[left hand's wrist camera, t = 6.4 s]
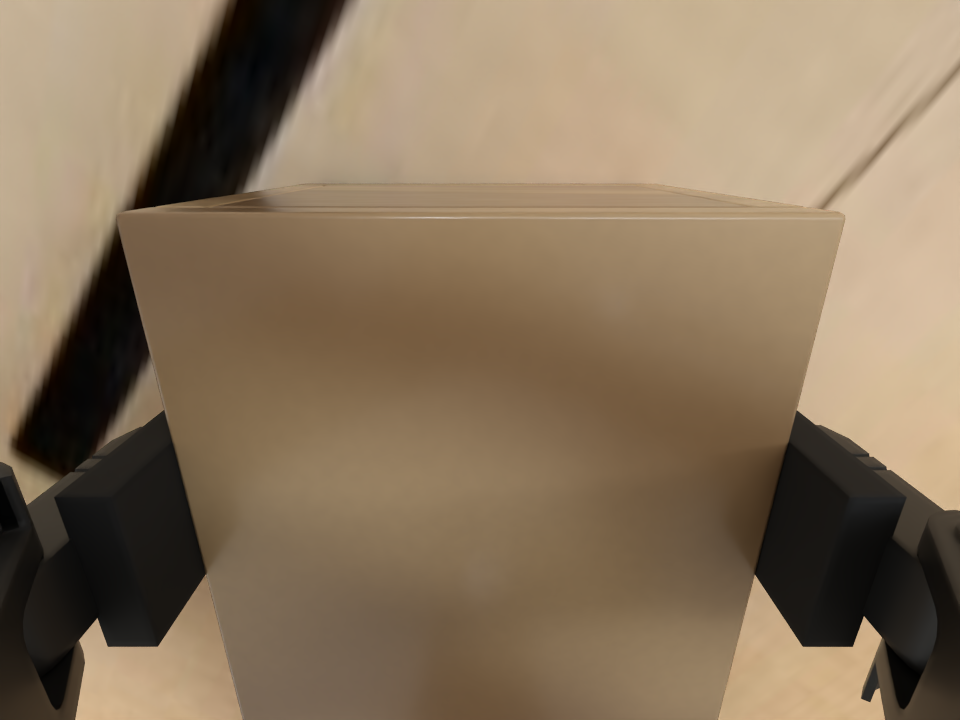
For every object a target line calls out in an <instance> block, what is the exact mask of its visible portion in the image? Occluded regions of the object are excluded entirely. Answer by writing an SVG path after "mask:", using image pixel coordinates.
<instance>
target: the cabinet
mask: <svg viewBox="0 0 960 720" xmlns="http://www.w3.org/2000/svg"><path fill="white" fill-rule="evenodd" d="M116 221H117V225H118V229H119V233H120V237H121V241H122V245H123V249H124V253H125V257H126V261H127V265H128V269H129V273H130V276H131V280H132V284H133V288H134V292H135V296H136V300H137V304H138V308H139V312H140V316H141V320H142V324H143V328H144V332H145V336H146V340H147V343H148V347H149V351H150V355H151V359H152V363H153V367H154V371H155V375H156V379H157V383H158V387H159V391H160V395H161V399H162V403H163V407H164V410H165V414H166V418H167V422H168V426H169V430H170V434H171V438H172V442H173V446H174V450H175V454H176V458H177V462H178V466H179V470H180V474H181V477H182V481H183V485H184V489H185V493H186V497H187V501H188V505H189V509H190V513H191V517H192V521H193V525H194V529H195V533H196V537H197V541H198V544H199V548H200V552H201V556H202V560H203V564H204V568H205V572H206V576H207V580H208V584H209V588H210V592H211V596H212V600H213V604H214V608H215V611H216V615H217V619H218V623H219V627H220V631H221V635H222V639H223V643H224V647H225V651H226V655H227V659H228V663H229V667H230V671H231V675H232V678H233V682H234V686H235V690H236V694H237V698H238V702H239V706H240V710H241V714H242V718H243V720H718V717H719V713H720V709H721V705H722V701H723V697H724V693H725V689H726V685H727V681H728V677H729V673H730V670H731V666H732V662H733V658H734V654H735V650H736V646H737V642H738V638H739V634H740V630H741V626H742V622H743V619H744V615H745V611H746V607H747V603H748V599H749V595H750V591H751V587H752V583H753V579H754V575H755V571H756V567H757V564H758V560H759V556H760V552H761V548H762V544H763V540H764V536H765V532H766V528H767V524H768V520H769V516H770V512H771V509H772V505H773V501H774V497H775V493H776V489H777V485H778V481H779V477H780V473H781V469H782V465H783V461H784V458H785V454H786V450H787V446H788V442H789V438H790V434H791V430H792V426H793V422H794V418H795V414H796V410H797V406H798V403H799V399H800V395H801V391H802V387H803V383H804V379H805V375H806V371H807V367H808V363H809V359H810V355H811V352H812V348H813V344H814V340H815V336H816V332H817V328H818V324H819V320H820V316H821V312H822V308H823V304H824V300H825V297H826V293H827V289H828V285H829V281H830V277H831V273H832V269H833V265H834V261H835V257H836V253H837V249H838V246H839V242H840V238H841V234H842V230H843V226H844V222H845V215H844V214H842V213H840V212H836V211H829V210H822V209H816V208H805V207H803V206H796V205H790V204H783V203H776V202H770V201H763V200H757V199H750V198H744V197H737V196H730V195H724V194H717V193H711V192H704V191H698V190H691V189H685V188H678V187H671V186H665V185H660V184H301V185H295V186H289V187H282V188H276V189H269V190H262V191H256V192H249V193H243V194H236V195H229V196H223V197H216V198H210V199H203V200H196V201H190V202H183V203H177V204H170V205H163V206H157V207H151V208H144V209H138V210H131V211H125V212H121V213H119V214H117V215H116Z"/></svg>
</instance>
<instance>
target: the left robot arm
mask: <svg viewBox="0 0 960 720" xmlns="http://www.w3.org/2000/svg"><path fill="white" fill-rule="evenodd" d="M205 574H206V572H205V568H204V564H203V560H202V556H201V552H200V548H199V544H198V541H197V537H196V533H195V529H194V525H193V521H192V517H191V513H190V509H189V505H188V501H187V497H186V493H185V489H184V485H183V481H182V477H181V474H180V470H179V466H178V462H177V458H176V454H175V450H174V446H173V442H172V438H171V434H170V430H169V426H168V422H167V418H166V414H165V410H164V411H162V412H161V413H160V414H159V415H157V416H156V417H155V418H153V419H152V420H151V421H150V422H148V423H147V424H146V425H145V426H143V427H139V428H137V429H135V430H133V431H131V432H129V433H127V434H125V435H123V436H120V437H118V438H116V439H114V440H112V441H111V442H110V443H108V444H107V445H106V446H104V447H103V448H102V449H100V450H99V451H98V452H96V453H95V454H94V455H93V456H92V459H87V460H86V461H85V462H83V463H82V464H81V465H79V466H78V467H77V468H75V472H70V473H69V474H68V475H66V476H65V477H64V478H62V479H61V480H60V481H58V482H57V483H56V484H54V485H53V486H52V487H50V488H49V489H48V490H47V491H45V492H44V493H43V494H41V495H40V496H39V497H37V498H36V499H35V500H33V501H32V502H31V503H29V504H28V505H27V506H26V503H25V500H24V498H23V495H22V493H21V490H20V487H19V485H18V482H17V480H16V477H15V475H14V472H13V469H12V467H10V466H8V465H6V464H4V463H2V462H0V720H75V717H76V711H77V706H78V700H79V694H80V688H81V682H82V677H83V671H84V665H85V660H84V654H83V650H82V647H81V645H80V642H79V639H80V638H81V637H82V636H83V634H84V633H85V632H86V631H87V630H88V628H89V627H90V626H91V625H92V624H93V622H94V621H95V620H96V619H97V618H98V620H99V623H100V626H101V629H102V632H103V634H104V637H105V640H106V643H107V645H108V647H158V645H159V644H160V642H161V641H162V639H163V638H164V636H165V635H166V633H167V632H168V630H169V629H170V627H171V626H172V624H173V623H174V621H175V620H176V618H177V617H178V615H179V614H180V612H181V611H182V609H183V608H184V606H185V605H186V603H187V602H188V600H189V599H190V597H191V596H192V594H193V593H194V591H195V590H196V588H197V587H198V585H199V583H200V582H201V580H202V579H203V577H204V576H205ZM755 575H756V577H757V578H758V580H759V581H760V583H761V584H762V586H763V587H764V589H765V590H766V592H767V593H768V595H769V596H770V598H771V599H772V601H773V602H774V604H775V605H776V607H777V608H778V610H779V611H780V613H781V614H782V616H783V617H784V619H785V620H786V622H787V623H788V625H789V626H790V628H791V629H792V631H793V632H794V634H795V635H796V637H797V638H798V640H799V641H800V643H801V644H802V646H803V647H853V645H854V642H855V639H856V636H857V634H858V631H859V628H860V625H861V623H862V620H863V617H864V616H865V618H866V619H867V620H868V621H869V622H870V624H871V625H872V626H873V627H874V628H875V629H876V631H877V632H878V633H879V634H880V635H881V637H882V640H881V642H880V645H879V647H878V650H877V652H876V655H875V658H874V660H873V663H872V665H871V668H870V670H869V673H868V676H867V678H866V681H865V683H864V686H863V690H862V696H861V699H863V700H866V701H868V702H870V701H871V699H872V696H873V694H874V691H875V690H876V689H878V688H880V692H881V698H882V704H883V710H884V715H885V720H960V511H958V510H948V511H944V510H943V509H942V508H940V507H939V506H938V505H936V504H935V503H934V502H932V501H931V500H930V499H928V498H927V497H926V496H924V495H923V494H922V493H920V492H919V491H918V490H916V489H915V488H914V487H912V486H911V485H910V484H908V483H907V482H906V481H904V480H903V479H902V478H900V477H899V476H898V475H897V474H895V473H894V472H893V471H891V470H887V469H886V466H885V465H883V464H882V463H881V462H879V461H878V460H877V459H875V458H874V457H869V453H867V452H866V451H865V450H863V449H862V448H861V447H859V446H858V445H857V444H855V443H854V442H853V441H851V440H850V439H849V438H847V437H845V436H843V435H840V434H838V433H836V432H834V431H832V430H830V429H828V428H826V427H824V426H821V425H815V424H813V423H812V422H811V421H810V420H808V419H807V418H806V417H805V416H803V415H802V414H801V413H800V412H798V411H797V410H796V414H795V418H794V422H793V426H792V430H791V434H790V438H789V442H788V446H787V450H786V454H785V458H784V461H783V465H782V469H781V473H780V477H779V481H778V485H777V489H776V493H775V497H774V501H773V505H772V509H771V512H770V516H769V520H768V524H767V528H766V532H765V536H764V540H763V544H762V548H761V552H760V556H759V560H758V564H757V567H756V571H755Z"/></svg>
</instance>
